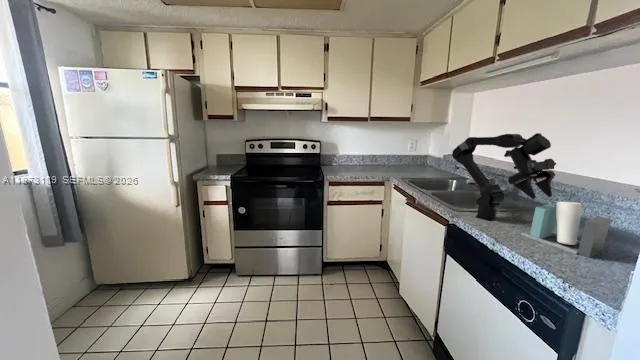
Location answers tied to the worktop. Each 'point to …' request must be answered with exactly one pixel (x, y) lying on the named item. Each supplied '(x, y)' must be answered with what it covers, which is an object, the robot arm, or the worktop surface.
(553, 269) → the worktop surface
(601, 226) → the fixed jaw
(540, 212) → the block
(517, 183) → the robot arm
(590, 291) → the worktop surface
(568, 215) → the drinking glass
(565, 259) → the worktop surface
